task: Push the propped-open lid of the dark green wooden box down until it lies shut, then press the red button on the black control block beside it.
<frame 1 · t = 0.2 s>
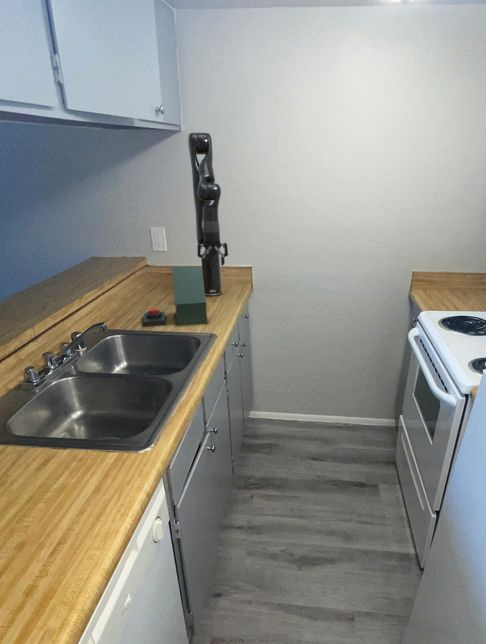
hand: (213, 265, 226), 18 cm above the worktop, tool pointing down, fingers open, 8 cm apart
chest: (191, 318, 211), on the worktop
button block: (154, 321, 207), on the worktop
lid: (188, 285, 201), point 16 cm above the worktop, hinge at 55.0°
button: (153, 311, 205), point 4 cm above the worktop, slide at 0.1 cm
coffee can: (194, 305, 229), on the worktop
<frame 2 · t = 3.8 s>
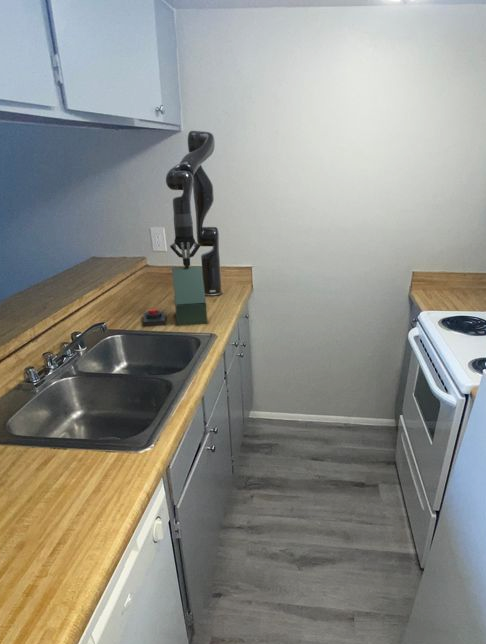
hand: (186, 266, 201), 23 cm above the worktop, tool pointing down, fingers closed
lid: (188, 285, 201), point 16 cm above the worktop, hinge at 53.7°, touching gripper
everything else where it was.
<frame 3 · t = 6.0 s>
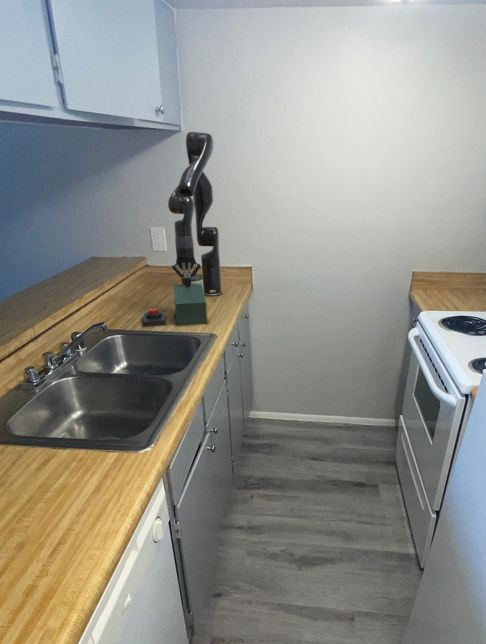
hand: (187, 286, 210), 13 cm above the worktop, tool pointing down, fingers closed
lid: (189, 294, 206), point 11 cm above the worktop, hinge at 13.3°, touching gripper
everything else where it was.
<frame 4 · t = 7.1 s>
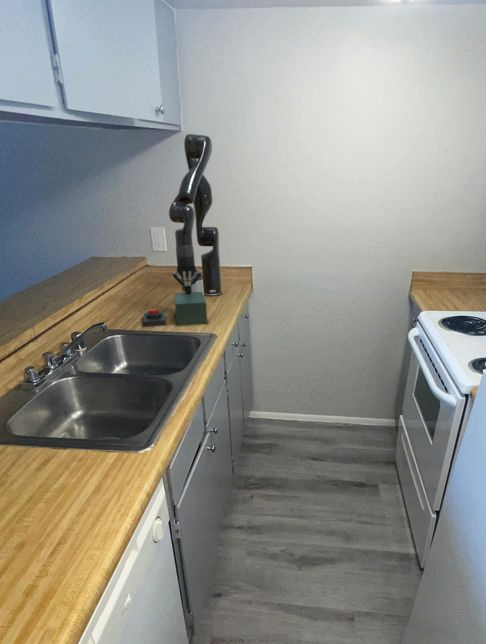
hand: (188, 293, 212), 10 cm above the worktop, tool pointing down, fingers closed
lid: (189, 298, 207), point 9 cm above the worktop, hinge at -0.2°, touching chest, gripper
everything else where it was.
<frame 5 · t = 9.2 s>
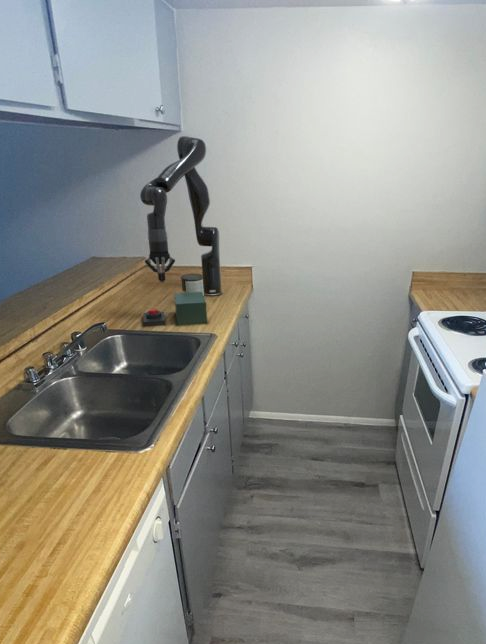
hand: (162, 281, 201), 17 cm above the worktop, tool pointing down, fingers closed
lid: (189, 298, 207), point 9 cm above the worktop, hinge at -0.2°, touching chest
everything else where it was.
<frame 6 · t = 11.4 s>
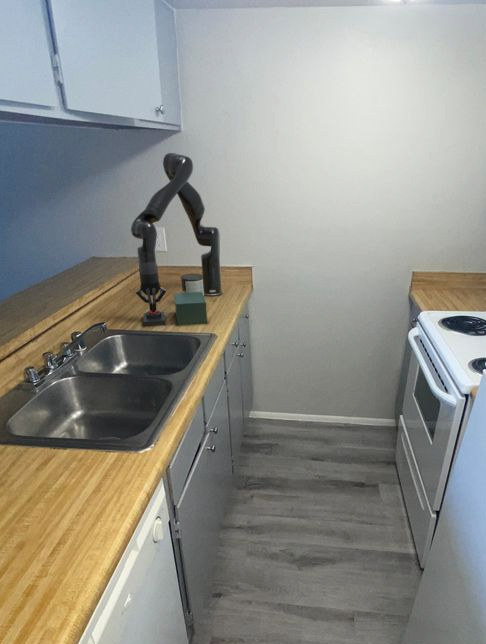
hand: (153, 311, 205), 5 cm above the worktop, tool pointing down, fingers closed
button: (153, 313, 206), point 4 cm above the worktop, slide at -0.7 cm, touching gripper
everything else where it was.
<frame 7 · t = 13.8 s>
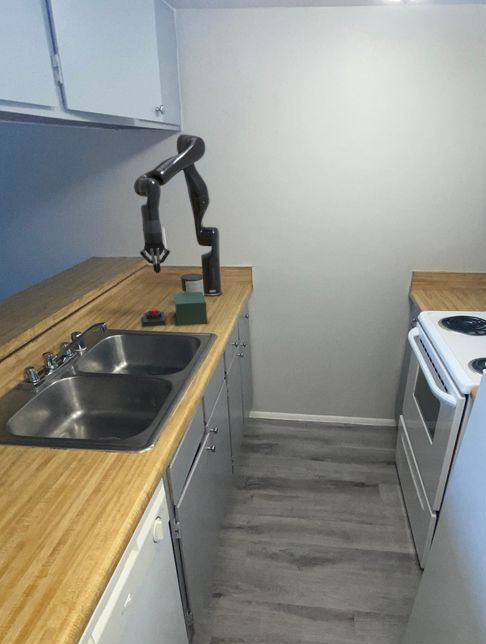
hand: (157, 272, 203), 20 cm above the worktop, tool pointing down, fingers closed
button: (153, 311, 205), point 4 cm above the worktop, slide at 0.1 cm
everything else where it was.
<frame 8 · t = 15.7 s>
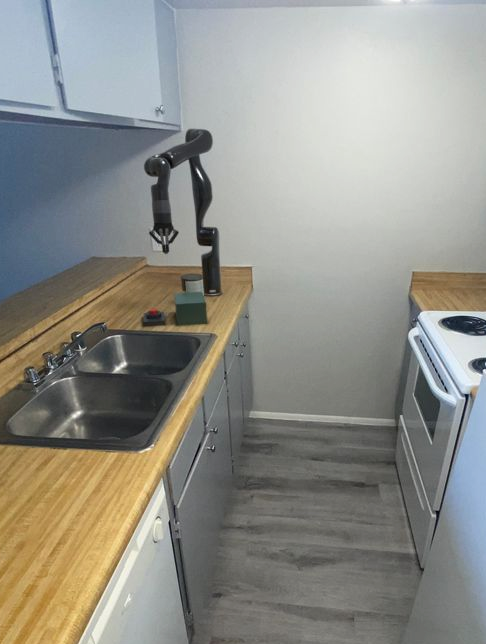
hand: (166, 253, 205), 27 cm above the worktop, tool pointing down, fingers closed
nothing on the worktop moved.
at the end: lid at +0° (first picture: +55°); button pushed in 1.1 cm at the most during the clip, back to where it started at the end; button slide at 0.1 cm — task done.
